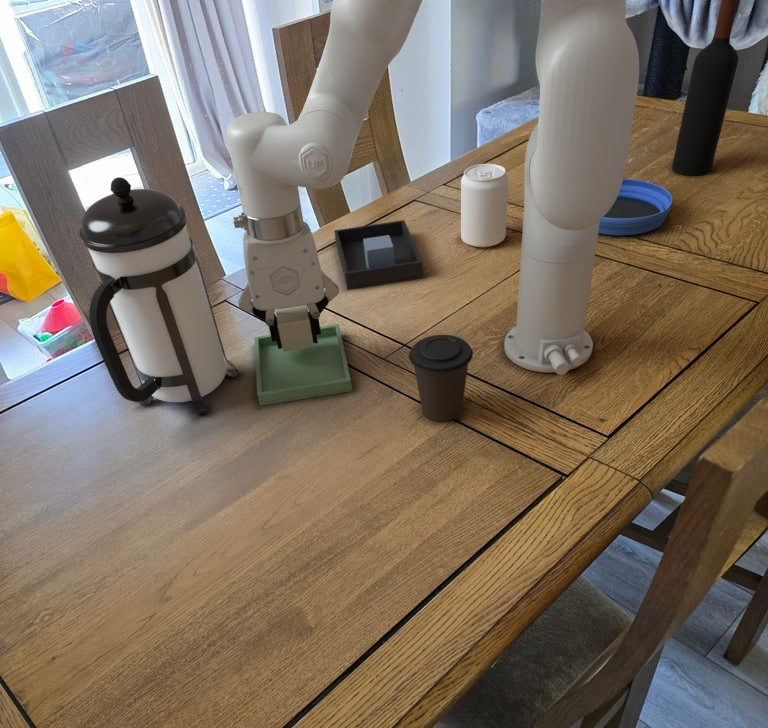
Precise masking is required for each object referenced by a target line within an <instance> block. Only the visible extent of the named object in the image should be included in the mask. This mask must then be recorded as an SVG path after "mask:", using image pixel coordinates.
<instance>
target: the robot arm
mask: <svg viewBox="0 0 768 728" xmlns="http://www.w3.org/2000/svg"><path fill="white" fill-rule="evenodd" d="M422 3H423V0H332V3H331V9H330V14H329V15H330V19H329V28H328V29H329V30H328V34H327V38H326V41H325V45H324V48H323V52H322V54H321V58H320V60H319V63H318V66H317V70H316V71H315V74H314V77H313V80H312V84H311V86H310V89H309V92H308V94H307V97H306V100H305V103H304V105H303V108H302V110H301V112H300V114H299V116H298V118H297V120H295V121H294V122H292V123H290V124H287V122H286V120H285V119H284V117H283V116H281V115H280V114H278V113H276V112H271V111H253V112H248V113H244V114H241V115H238V116H237V117H235V118H233V119H232V120H231V121H229V122H228V125H227V127H226V131H225V133H226V134H225V135H226V142H227V143H226V144H227V146H228V152H229V156H230V161H231V165H232V169H233V173H234V178H235V182H236V187H237V191H238V196H239V201H240V205H241V209H242V212H241V214H240V215H239V214H238V216H234V217H232V221H233V225H234V229H239V228H240V229H244V233H243V236H242V249H243V259H244V266H245V272H246V278H247V283H246V286H245V287H244V289H243V291H242V293H241V295H240V297H239V299H238V308H239V309H241V310H242V311H245V312H247V313H249V314H253V316H254V317H256V318H258V319H259V320H260V321H263V322H264V323H265V325H266V326H267V327H268V328H269V335H271V339H272V342H275V341H277V346H278V349H282V344H281V339H280V335H279V330H278V325H277V315H276V309H283V308H289V307H296V306H302V305H307V309H308V315H309V321H310V327H311V333H312V338H313V343H318V341H317V335H320V334H321V330H320V327H321V324H320V317H321V314H322V313H323V311H324V310H325V309H326V307H327V306H328V305H329V303H330V302H331V301H333V300H334V299H335V298H336V297H337V296H338V295H339V294H340V288H339V285H337V284H336V282H334V280H333V279H332V278H330V277H329V276H328V275H327V274H326V273H325V272H324V271H323V270H322V268H321V263H320V257H319V254H318V249H317V245H316V242H315V239H314V236H313V233H312V230H311V228H310V225H309V224H308V223H307V222H305V220H304V216H303V211H302V204H301V199H300V192H299V187H301V188H306V189H316V190H325V189H329V188H332V187H335V186H336V185H338V184H339V183H341V181H342V180H343V179H344V178H345V176H346V175H347V173H348V170H349V168H350V164H351V160H352V157H353V153H354V149H355V145H356V143H357V140H358V137H359V134H360V132H361V130H362V129H361V128H362V126H363V124H364V121H365V119H366V116H367V114H368V111H369V109H370V106H371V105H372V102H373V100H374V98H375V95H376V92H377V90H378V89H379V85H380V83H381V81H382V79H383V77H384V75H385V73H386V71H387V69H388V67H389V66H390V64H391V62H392V61H393V60H394V59H395V57H397V56H398V54H399V53H400V52H401V50H402V48H403V46H404V45H405V43H406V41H407V38H408V36H409V34H410V31H411V29H412V27H413V24H414V22H415V19H416V17H417V15H418V12H419V10H420V7H421V4H422ZM626 9H627V0H541V1H540V13H539V25H538V32H537V33H538V34H537V41H536V47H535V59H534V61H535V69H536V76H537V80H538V84H539V105H538V120H537V121H538V122H537V123H536V125H535V127H534V128H533V130H532V131H531V133H530V136H529V138H528V141H527V145H526V149H525V156H524V179H523V180H524V185H523V186H524V188H523V218H522V233H521V234H522V235H521V236H522V237H521V249H520V262H519V278H518V295H517V307H516V308H517V311H516V323H515V327H513V328H512V329H510V331H509V332H508V333H507V334H506V336H505V337H504V342H503V343H504V344H503V345H504V347H503V349H504V353H505V355H506V357H507V358H508V359H509V360H510V361H511V362H512V363H514V364H515V365H517V366H519V367H520V368H523V369H526V370H528V371H532V372H538V373H547V374H549V373H550V374H551V373H553V374H554V373H556V375H558V376H563V375H565V374H567V373H568V372H569V371H571V370H573V369H576V368H578V367H580V366H582V365H583V364H585V363H586V362H587V361H588V360H589V359H590V357H591V355H592V353H593V347H594V343H593V339H592V337H591V335H590V333H588V332H587V330H585V325H586V318H587V313H588V312H587V311H588V305H589V299H590V291H591V286H592V285H591V284H592V278H593V272H594V265H595V257H596V252H597V251H596V250H597V245H598V239H599V233H598V232H599V224H600V219H602V218H603V217H604V216H605V215H606V214H607V213H608V211H609V210H610V209H611V207H612V206H613V204H614V203H615V201H616V199H617V197H618V194H619V192H620V189H621V185H622V181H623V179H624V177H625V173H626V165H627V160H628V154H629V148H630V142H631V135H632V131H633V130H632V128H633V122H634V116H635V111H636V103H637V96H638V91H639V83H640V81H639V80H640V57H639V56H640V55H639V49H638V44H637V41H636V38H635V36H634V34H633V31H632V30H631V28H630V27H629V25H628V23H627V20H626V19H627V18H626V11H627V10H626Z"/></svg>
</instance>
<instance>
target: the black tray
mask: <svg viewBox="0 0 768 728" xmlns="http://www.w3.org/2000/svg"><path fill="white" fill-rule="evenodd" d="M386 235H389V236H390V239H391V241H392V244H393V247H394V260H395V265H389V266H382V267H376V268H369V269H367V266H366V261H365V251H364V242H363V239H366V238H373V237H379V236H386ZM334 238H335V247H336V250H337V254H338V258H339V262H340V266H341V270H342V274H343V278H344V282H345V286H346V290H352V289H358V288H366V287H371V286H378V285H379V286H380V285H385V284H391V283H398V282H404V281H411V280H417V279H423V278H424V277H423V276H424V273H423V272H424V271H423V260H422V259H421V256H420V253H419V250H418V248H417V247H416V244H415V242H414V240H413V237H412V235H411V232H410V230H409V228H408V225H407V223H406V220H405V219H401V220H395V221H389V222H380V223H375V224H367V225H361V226H354V227H349V228H347V227H346V228H342V229H335V230H334Z"/></svg>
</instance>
